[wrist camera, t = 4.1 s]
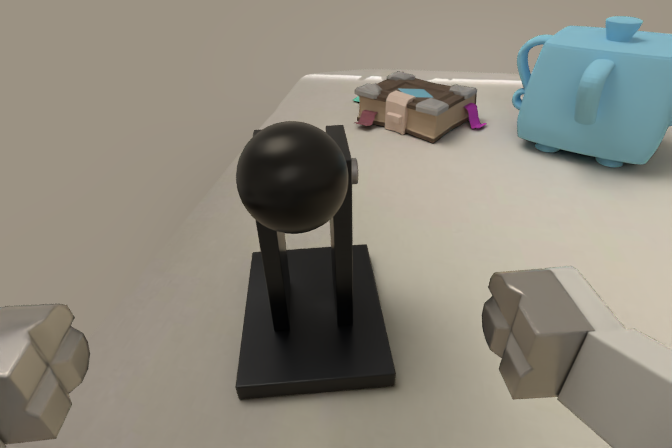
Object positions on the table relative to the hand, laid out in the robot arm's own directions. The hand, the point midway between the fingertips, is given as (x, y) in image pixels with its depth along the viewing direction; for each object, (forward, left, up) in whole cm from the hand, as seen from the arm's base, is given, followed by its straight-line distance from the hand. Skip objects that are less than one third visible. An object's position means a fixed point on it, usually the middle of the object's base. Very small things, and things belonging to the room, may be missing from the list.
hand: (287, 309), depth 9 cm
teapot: (+38, +33, -16) cm, 53 cm away
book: (+19, +47, -16) cm, 53 cm away
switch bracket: (+2, +15, -16) cm, 22 cm away
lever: (+1, +9, -4) cm, 10 cm away
